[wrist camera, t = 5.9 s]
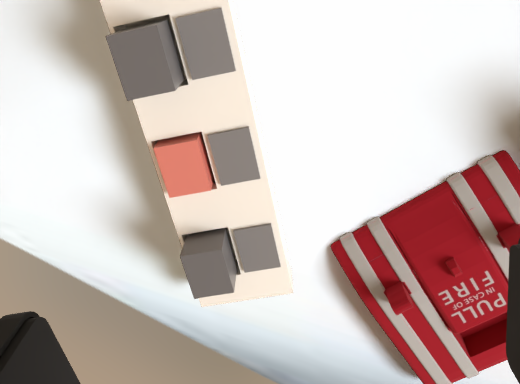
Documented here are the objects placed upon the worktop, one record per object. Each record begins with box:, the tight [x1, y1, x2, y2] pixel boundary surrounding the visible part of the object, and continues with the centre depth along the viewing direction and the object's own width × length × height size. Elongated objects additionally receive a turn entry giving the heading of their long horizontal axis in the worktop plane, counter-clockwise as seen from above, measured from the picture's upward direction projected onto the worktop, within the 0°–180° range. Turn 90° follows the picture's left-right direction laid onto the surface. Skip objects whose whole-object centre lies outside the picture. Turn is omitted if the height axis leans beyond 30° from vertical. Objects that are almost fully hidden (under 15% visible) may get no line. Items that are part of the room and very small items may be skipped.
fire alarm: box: [331, 151, 520, 384], centre depth 40 cm, size 16×6×20 cm
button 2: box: [153, 132, 214, 198], centre depth 35 cm, size 4×3×3 cm
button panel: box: [100, 0, 293, 307], centre depth 34 cm, size 32×8×4 cm, turn 12°
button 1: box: [106, 19, 184, 101], centre depth 30 cm, size 4×3×3 cm
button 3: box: [180, 228, 237, 299], centre depth 37 cm, size 4×3×3 cm
